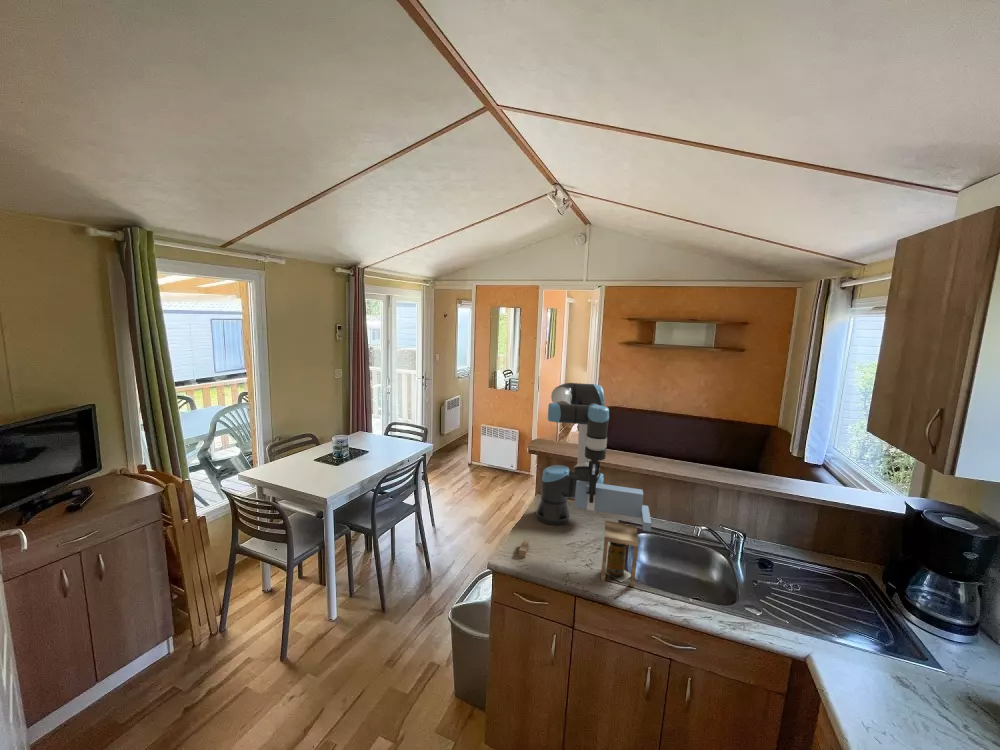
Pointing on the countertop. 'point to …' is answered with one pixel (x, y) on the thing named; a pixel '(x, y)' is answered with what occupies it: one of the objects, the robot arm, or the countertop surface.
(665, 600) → the countertop surface
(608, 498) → the crook
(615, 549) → the condiment
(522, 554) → the wooden block
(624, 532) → the shelf
